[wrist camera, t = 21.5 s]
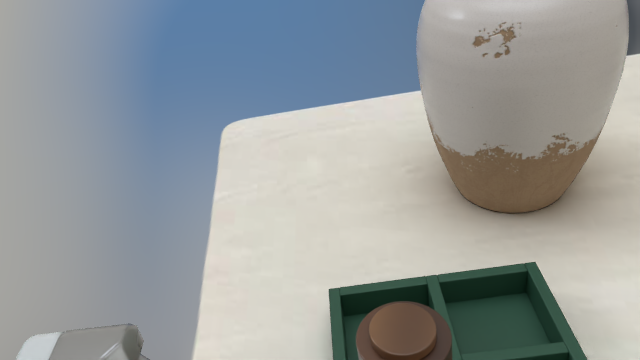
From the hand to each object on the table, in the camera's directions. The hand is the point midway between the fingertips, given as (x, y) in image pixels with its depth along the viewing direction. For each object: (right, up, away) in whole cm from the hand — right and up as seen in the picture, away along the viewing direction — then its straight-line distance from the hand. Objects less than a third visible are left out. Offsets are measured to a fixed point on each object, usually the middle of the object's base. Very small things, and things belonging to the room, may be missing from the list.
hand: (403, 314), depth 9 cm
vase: (+16, +2, +43) cm, 46 cm away
